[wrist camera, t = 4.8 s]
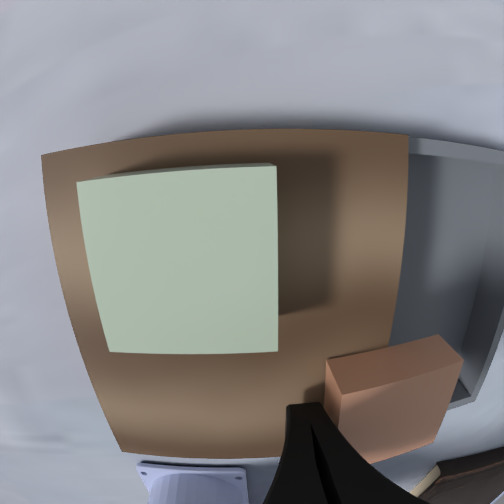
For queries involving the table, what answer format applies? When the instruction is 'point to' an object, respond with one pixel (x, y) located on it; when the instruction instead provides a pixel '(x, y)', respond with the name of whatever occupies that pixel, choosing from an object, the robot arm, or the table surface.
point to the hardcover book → (464, 480)
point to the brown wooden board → (289, 285)
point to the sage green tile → (184, 258)
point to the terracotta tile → (392, 395)
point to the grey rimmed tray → (453, 256)
